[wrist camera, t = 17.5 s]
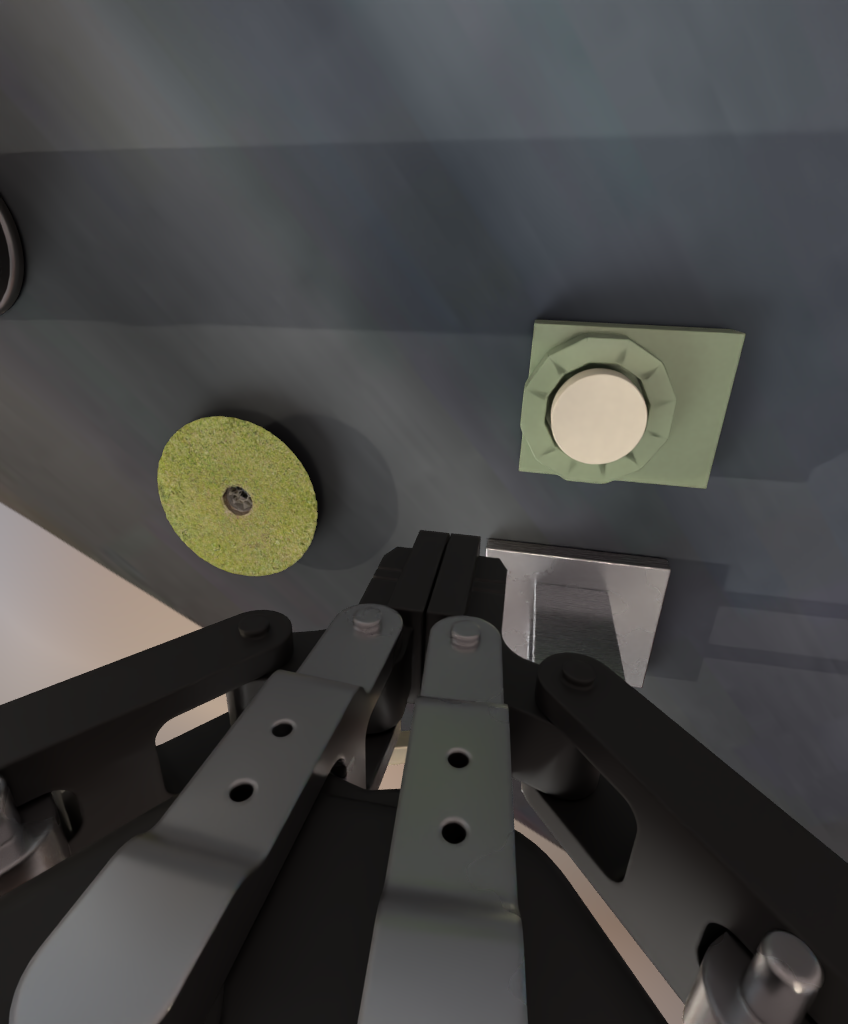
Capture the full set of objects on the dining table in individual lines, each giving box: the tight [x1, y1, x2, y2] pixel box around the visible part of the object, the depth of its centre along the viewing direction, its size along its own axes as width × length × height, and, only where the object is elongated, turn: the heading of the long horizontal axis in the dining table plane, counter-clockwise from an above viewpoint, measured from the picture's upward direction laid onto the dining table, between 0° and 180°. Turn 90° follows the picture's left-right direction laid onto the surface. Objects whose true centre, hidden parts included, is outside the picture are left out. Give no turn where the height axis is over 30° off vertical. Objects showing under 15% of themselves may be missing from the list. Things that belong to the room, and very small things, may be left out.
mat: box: [157, 416, 318, 576], centre depth 37 cm, size 11×11×2 cm
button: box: [551, 368, 647, 464], centre depth 27 cm, size 4×4×2 cm
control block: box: [519, 320, 746, 489], centre depth 29 cm, size 10×8×4 cm
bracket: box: [485, 539, 671, 792], centre depth 31 cm, size 11×9×13 cm
